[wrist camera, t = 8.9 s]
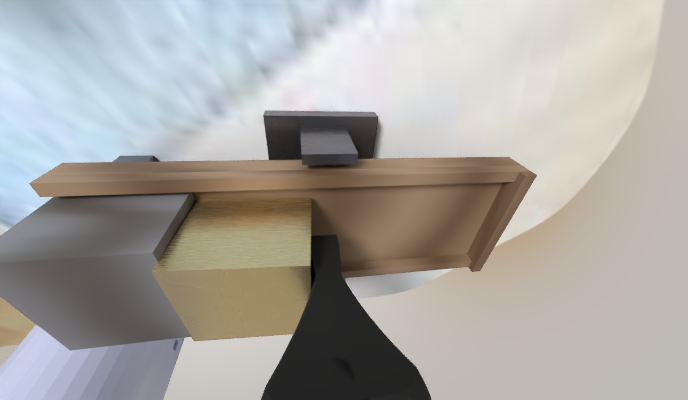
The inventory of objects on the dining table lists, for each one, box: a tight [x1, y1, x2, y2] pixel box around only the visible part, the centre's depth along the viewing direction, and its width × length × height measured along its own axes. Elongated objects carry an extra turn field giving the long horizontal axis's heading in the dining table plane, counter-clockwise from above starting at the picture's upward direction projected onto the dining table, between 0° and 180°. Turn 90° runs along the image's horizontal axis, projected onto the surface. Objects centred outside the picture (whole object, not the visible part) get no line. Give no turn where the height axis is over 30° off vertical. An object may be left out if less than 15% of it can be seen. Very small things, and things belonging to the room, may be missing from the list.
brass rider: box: [152, 198, 312, 341], centre depth 11 cm, size 5×5×4 cm
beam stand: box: [113, 111, 378, 280], centre depth 14 cm, size 14×10×4 cm
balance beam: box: [0, 157, 537, 351], centre depth 12 cm, size 21×7×5 cm, turn 87°
